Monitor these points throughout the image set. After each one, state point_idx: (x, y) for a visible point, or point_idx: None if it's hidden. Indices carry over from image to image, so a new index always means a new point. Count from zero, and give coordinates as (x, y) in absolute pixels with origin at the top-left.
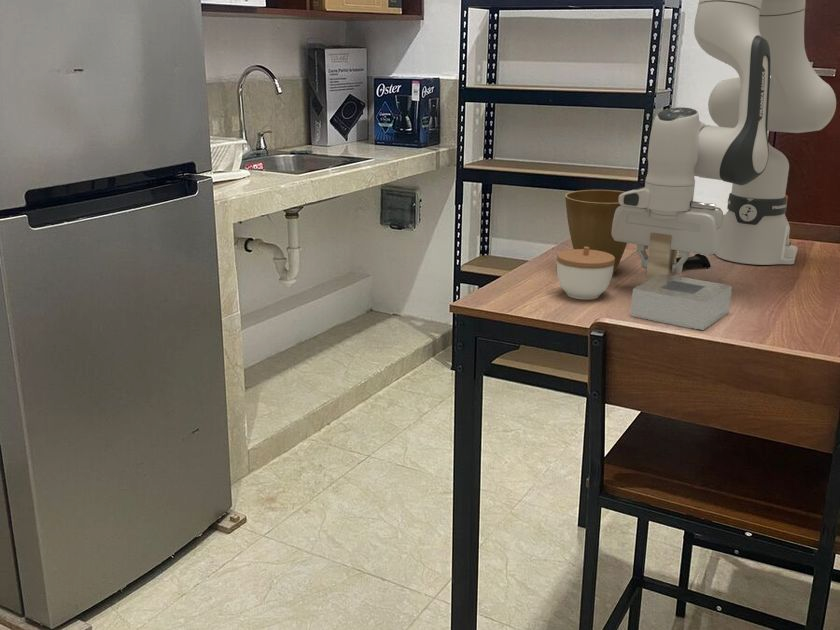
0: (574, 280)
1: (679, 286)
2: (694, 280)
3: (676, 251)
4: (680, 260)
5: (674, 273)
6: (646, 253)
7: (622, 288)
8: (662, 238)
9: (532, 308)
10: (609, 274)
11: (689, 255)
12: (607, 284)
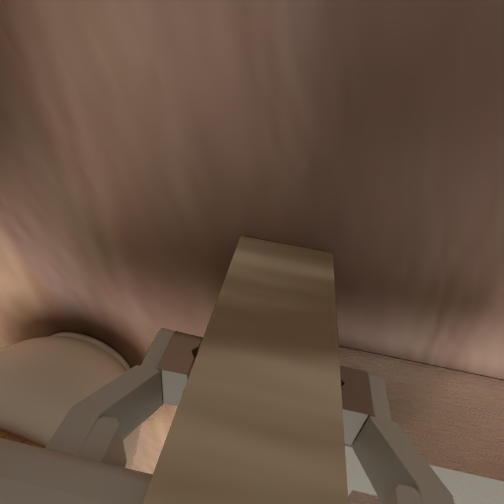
0: None
1: None
2: (447, 480)
3: (341, 466)
4: (379, 488)
5: (335, 323)
6: (134, 392)
7: (135, 266)
8: None
9: None
10: (129, 468)
11: (449, 501)
12: (139, 428)
